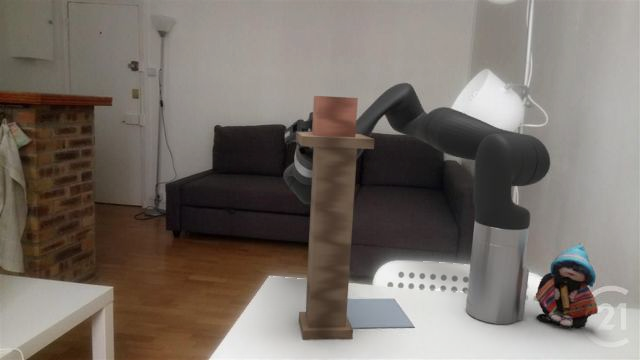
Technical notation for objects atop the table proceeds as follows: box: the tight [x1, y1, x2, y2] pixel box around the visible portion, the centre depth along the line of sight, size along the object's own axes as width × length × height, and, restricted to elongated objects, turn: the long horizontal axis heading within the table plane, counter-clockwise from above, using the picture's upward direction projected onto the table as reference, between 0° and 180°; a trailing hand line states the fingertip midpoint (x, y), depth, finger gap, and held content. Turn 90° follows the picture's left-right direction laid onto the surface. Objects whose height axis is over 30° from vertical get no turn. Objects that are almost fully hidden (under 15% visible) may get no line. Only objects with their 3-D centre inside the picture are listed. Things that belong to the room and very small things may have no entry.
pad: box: [347, 298, 416, 330], centre depth 89 cm, size 11×12×1 cm
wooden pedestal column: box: [296, 132, 375, 341], centre depth 81 cm, size 11×10×32 cm
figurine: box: [535, 243, 599, 330], centre depth 87 cm, size 10×7×15 cm
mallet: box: [312, 95, 358, 137], centre depth 84 cm, size 6×17×6 cm, turn 8°
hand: (326, 114), depth 86 cm, fingers closed on mallet, 3 cm apart
